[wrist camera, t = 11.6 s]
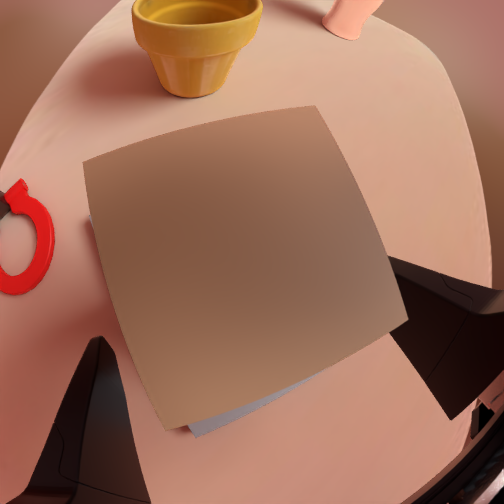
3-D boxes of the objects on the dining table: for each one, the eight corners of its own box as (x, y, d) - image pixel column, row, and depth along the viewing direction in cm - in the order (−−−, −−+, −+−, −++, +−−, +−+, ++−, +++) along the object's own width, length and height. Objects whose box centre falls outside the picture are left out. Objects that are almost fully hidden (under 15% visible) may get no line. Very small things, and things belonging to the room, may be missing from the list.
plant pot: (171, 41, 25) (172, -27, 15) (256, 61, 26) (277, -9, 16) (122, 99, 22) (104, 21, 13) (221, 125, 23) (237, 40, 14)
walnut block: (258, 314, 19) (408, 319, 5) (190, 340, 18) (165, 431, 4) (233, 247, 20) (315, 105, 6) (165, 270, 19) (82, 162, 4)
